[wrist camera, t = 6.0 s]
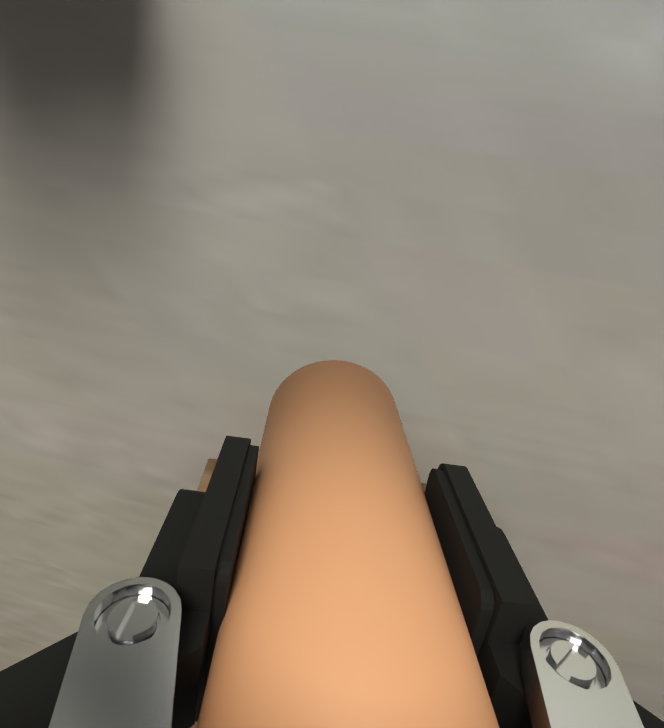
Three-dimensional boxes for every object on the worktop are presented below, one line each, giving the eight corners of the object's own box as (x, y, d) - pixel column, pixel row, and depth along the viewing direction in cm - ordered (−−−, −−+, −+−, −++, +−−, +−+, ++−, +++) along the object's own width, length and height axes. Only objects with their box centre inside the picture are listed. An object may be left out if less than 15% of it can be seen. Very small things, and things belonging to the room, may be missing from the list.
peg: (409, 370, 15) (1113, 1942, 2) (383, 482, 16) (647, 1810, 3) (276, 351, 14) (-184, 2095, 1) (261, 467, 16) (-30, 1869, 3)
